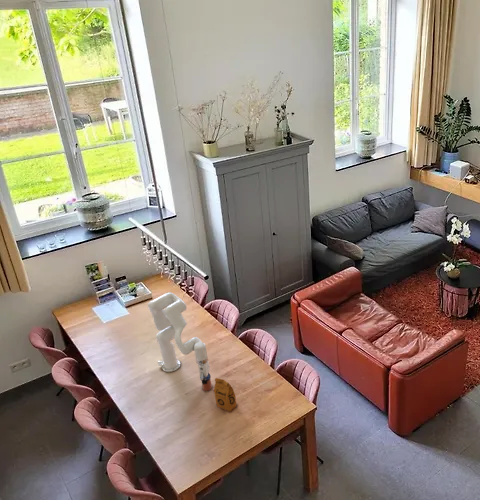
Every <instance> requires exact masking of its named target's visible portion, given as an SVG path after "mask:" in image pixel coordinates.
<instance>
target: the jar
mask: <svg viewBox="0 0 480 500" xmlns="http://www.w3.org/2000/svg"><path fill="white" fill-rule="evenodd" d="M211 379H212V378H210V380H208V381H207V384H202V381H201V380H200V382H201V386H202V390H203V391H204V392H209V391H210V390H212V388H213V386H212V380H211Z"/></svg>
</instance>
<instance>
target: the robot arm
mask: <svg viewBox="0 0 480 500" xmlns="http://www.w3.org/2000/svg"><path fill="white" fill-rule="evenodd" d="M147 308H148V310H149V312H150V314H151V315H152V320H153V323H154V326H155V328H156V330H157V331H158V332H157V333H156V335H155V339H156V341H157V344H158V346H159V350H160V353H161V358H162V360H158V361H157V365H158V366H159V367H161V369H162V370H163V372H165V373H172V372H174V371H177V370H178V369H180V367H181V361H180V360H179V359H178V357H177V352H176V348H175V345H176V347H177V348H178V350H179V352H180V353H181V354H182V355H184V356H187V355H190V354H191V353H193V352H194V357H195V361H196V364H197V366H198V373H199V378H200V377H201V379H200V381H201V380H202V382H201V385H202V384H207V379H206V377H207V376H208V373H209V374H210V368H211V367H210V366H211V365H210V362H209V355H208V351H207V345H206V343H205V342H202V340H201V339H200V338H199V337H197V336H193V337H192V338H190V339H188V340H187V341H185V342H183V341H182V333H183V331H184V329H185V328H186V327H187V325H188V322H187V321H186V319H185V318H184V316H183V314H182V313H183V312H185V311H187V309H188V306H187V304H186V302H185V301H184V300H183V299H182V298H180V297H179V296H178V295H176V294H175V293H173V292H171V291H169V292H166V293H164V294H162V295H160V296H158V297H156V298H154V299H152V300H150V301H149V302H148V303H147ZM172 340H174V342H175V344H174V342H172ZM203 377H205V378H203Z"/></svg>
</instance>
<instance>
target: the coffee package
mask: <svg viewBox="0 0 480 500" xmlns="http://www.w3.org/2000/svg"><path fill="white" fill-rule="evenodd" d="M214 381H215V382H214V388H213V393H214V398H215V403H216V407H217V408H219V409H222V410H224V411H227V412H232V411H233V410H234V409H235V408H236V407H237V399H236V398H237V397H236V393H235V390H234V388H233V387H232V385H231V384H230V383H229V382H227V380H225V379H224V378H219V377H215V379H214Z"/></svg>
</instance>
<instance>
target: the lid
mask: <svg viewBox="0 0 480 500" xmlns="http://www.w3.org/2000/svg"><path fill="white" fill-rule="evenodd" d="M203 378H205V377H203ZM199 379H200V382H201V381H202V380H201V377H200V376H199ZM206 379H207V381H208V380H210V379H212V378H211V374H210V372H209V373H208V376H207V377H206Z"/></svg>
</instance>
